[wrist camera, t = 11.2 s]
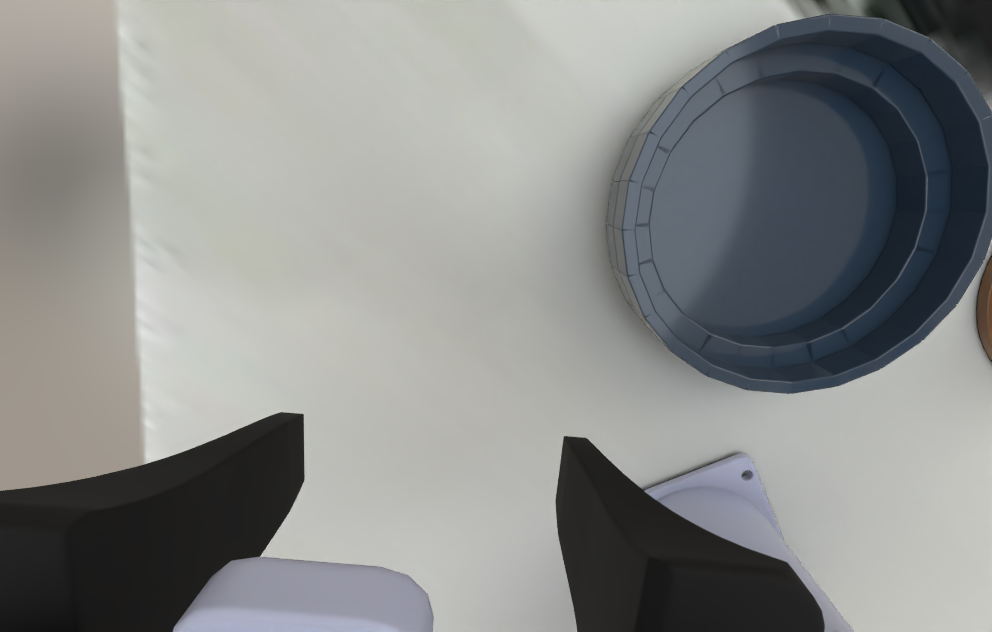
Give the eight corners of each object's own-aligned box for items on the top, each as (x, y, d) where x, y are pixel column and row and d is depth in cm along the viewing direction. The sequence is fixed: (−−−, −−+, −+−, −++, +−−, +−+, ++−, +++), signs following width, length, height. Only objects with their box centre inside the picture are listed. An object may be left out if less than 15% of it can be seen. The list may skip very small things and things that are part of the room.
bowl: (954, 288, 22) (1036, 308, 18) (668, 405, 23) (695, 443, 20) (874, -20, 19) (954, -64, 16) (555, 137, 21) (565, 128, 17)
